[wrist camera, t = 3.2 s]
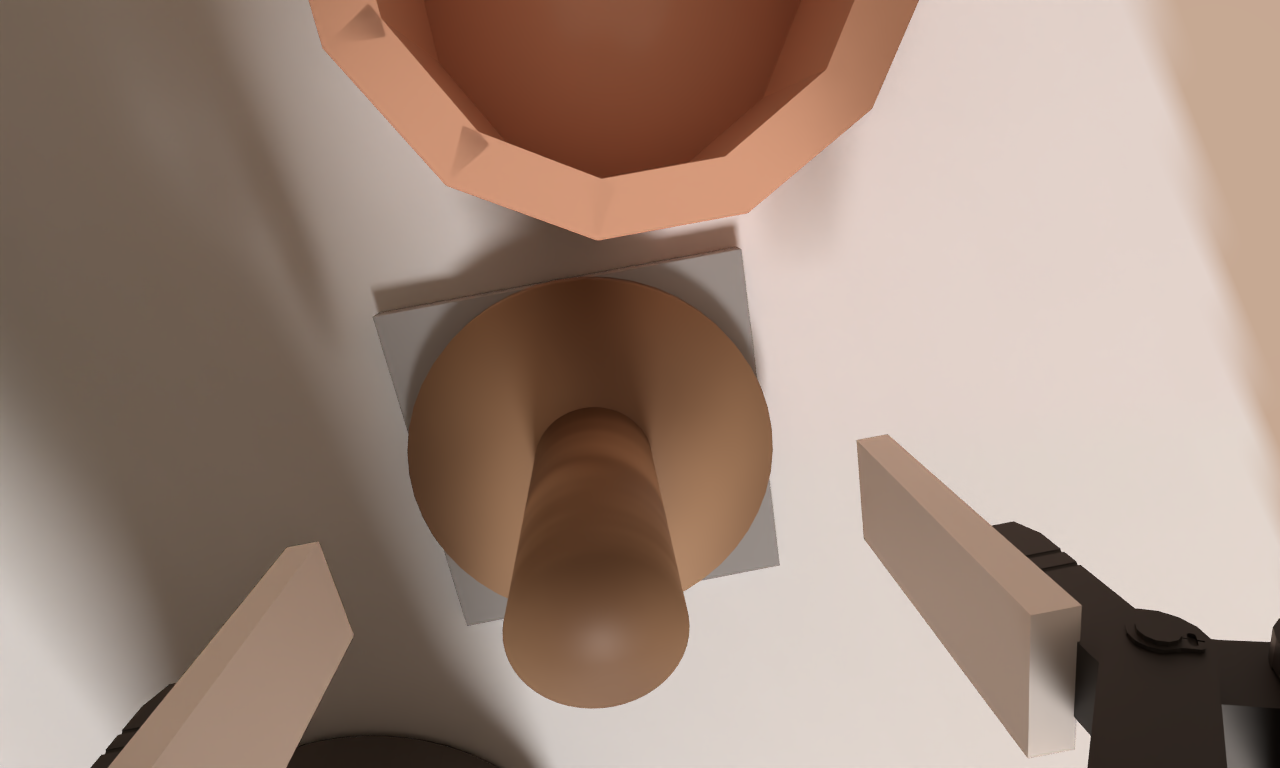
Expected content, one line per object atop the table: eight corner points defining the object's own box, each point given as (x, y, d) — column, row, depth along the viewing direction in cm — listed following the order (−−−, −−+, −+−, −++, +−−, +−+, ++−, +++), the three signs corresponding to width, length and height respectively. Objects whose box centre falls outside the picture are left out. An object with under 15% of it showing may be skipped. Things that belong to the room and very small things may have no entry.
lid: (464, 628, 23) (392, 892, 14) (368, 313, 19) (199, 420, 11) (782, 567, 23) (893, 792, 15) (744, 245, 19) (862, 297, 11)
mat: (470, 614, 23) (467, 625, 23) (379, 312, 20) (372, 317, 19) (775, 555, 23) (779, 565, 23) (736, 246, 20) (741, 249, 19)
